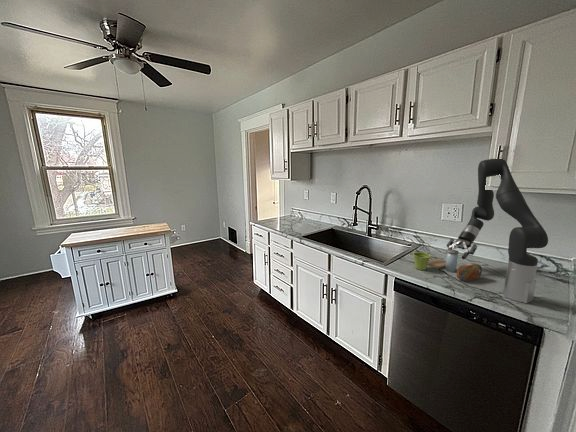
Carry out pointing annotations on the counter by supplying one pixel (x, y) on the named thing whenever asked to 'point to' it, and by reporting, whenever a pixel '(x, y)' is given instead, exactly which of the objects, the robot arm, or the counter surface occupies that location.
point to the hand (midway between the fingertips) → (454, 256)
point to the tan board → (437, 263)
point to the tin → (469, 272)
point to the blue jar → (451, 260)
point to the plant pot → (421, 260)
